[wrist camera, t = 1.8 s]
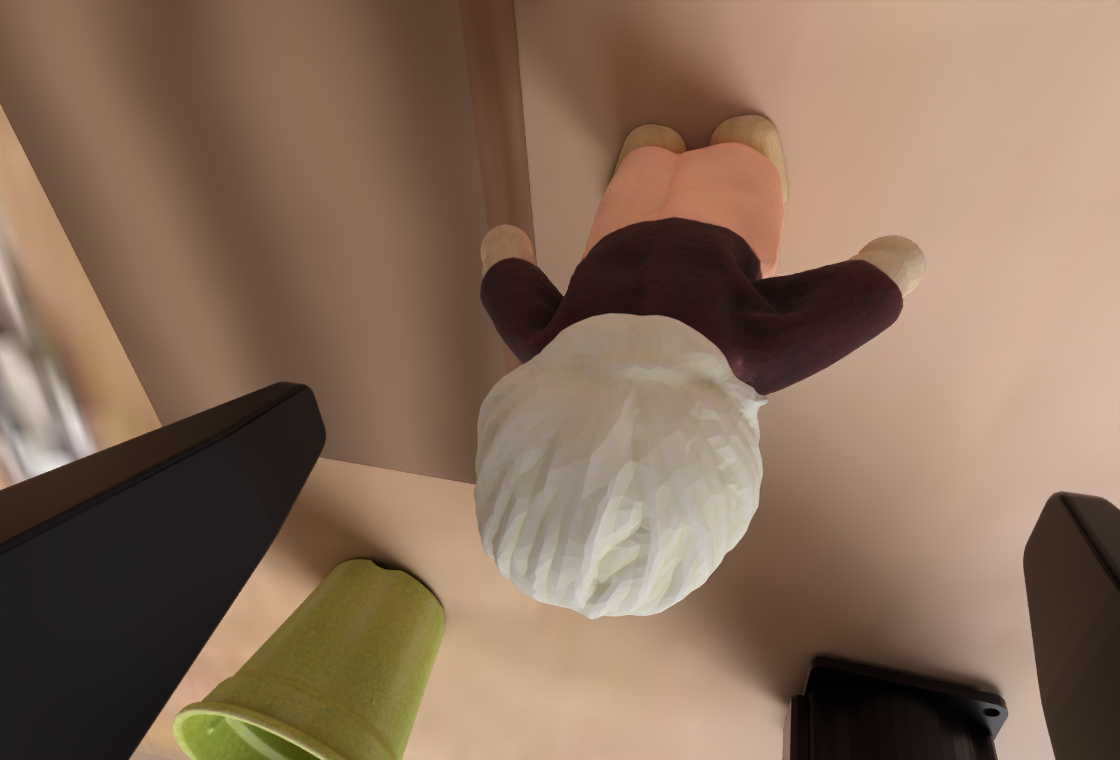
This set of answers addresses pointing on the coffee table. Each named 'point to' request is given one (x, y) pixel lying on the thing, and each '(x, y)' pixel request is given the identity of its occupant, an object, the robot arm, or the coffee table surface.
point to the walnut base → (287, 199)
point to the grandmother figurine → (658, 371)
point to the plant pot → (327, 676)
